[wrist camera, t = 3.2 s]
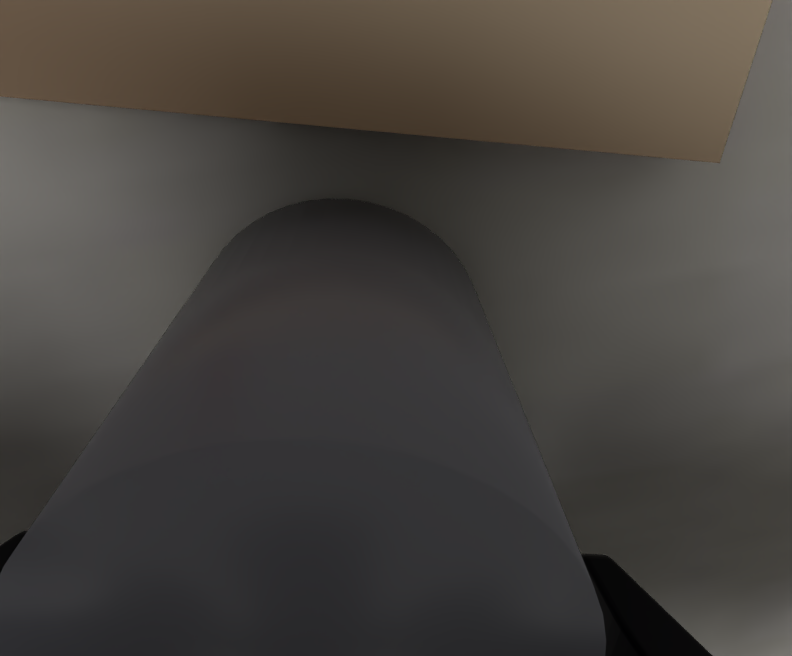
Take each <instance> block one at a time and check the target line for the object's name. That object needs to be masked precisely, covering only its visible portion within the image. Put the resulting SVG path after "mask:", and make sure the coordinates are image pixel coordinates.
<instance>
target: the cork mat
mask: <svg viewBox="0 0 792 656" xmlns="http://www.w3.org/2000/svg"><path fill="white" fill-rule="evenodd" d="M771 3H772V0H0V96H2V97H13V98H23V99H34V100H45V101H56V102H66V103H77V104H88V105H99V106H110V107H120V108H131V109H142V110H153V111H163V112H174V113H185V114H196V115H207V116H217V117H228V118H239V119H250V120H260V121H271V122H282V123H293V124H303V125H314V126H325V127H336V128H347V129H357V130H368V131H379V132H390V133H400V134H411V135H422V136H433V137H444V138H454V139H465V140H476V141H487V142H497V143H508V144H519V145H530V146H541V147H551V148H562V149H573V150H584V151H594V152H605V153H616V154H627V155H637V156H648V157H659V158H670V159H681V160H691V161H702V162H713V163H720V160H721V157H722V154H723V151H724V148H725V145H726V142H727V139H728V136H729V133H730V129H731V126H732V123H733V120H734V117H735V114H736V111H737V108H738V105H739V102H740V99H741V96H742V93H743V89H744V86H745V83H746V80H747V77H748V74H749V71H750V68H751V65H752V62H753V59H754V56H755V53H756V50H757V46H758V43H759V40H760V37H761V34H762V31H763V28H764V25H765V22H766V19H767V16H768V13H769V10H770V7H771Z"/></svg>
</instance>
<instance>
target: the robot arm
mask: <svg viewBox="0 0 792 656" xmlns="http://www.w3.org/2000/svg"><path fill="white" fill-rule="evenodd" d="M26 533H27V531H23V532H21V533H19V534H17V535H15V536H14V537H13V538H11V539H10V540H8V541H7V542H5V543H4V544H2V545H1V546H0V573H1V571H2V569H3V567H4V565H5V563H6V562H7V560H8V559H9V558H10V556H11V555H12V553H13V552H14V550H15V549H16V547H17V546H18V544H19V543H20V542H21V540H22V539H23V537H24V536H25V534H26ZM581 556H582V558H583V561H584V563H585V566H586V568H587V571H588V573H589V576H590V578H591V581H592V583H593V586H594V589H595V592H596V595H597V598H598V601H599V604H600V607H601V610H602V613H603V618H604V626H605V635H606V650H605V656H712V655H711V654H710V653H709V652H708V651H707V650H706V649H705V648H704V647H703V646H702V645H701V644H700V643H699V642H698V641H697V640H696V639H695V638H694V637H692V636H691V635H690V634H689V633H688V632H687V631H686V630H685V629H684V628H683V627H682V626H681V625H680V624H679V623H678V622H677V621H676V620H675V619H674V618H673V617H672V616H671V615H670V614H669V613H668V612H666V611H665V610H664V609H663V608H662V607H661V606H660V605H659V604H658V603H657V602H656V601H655V600H654V599H653V598H652V597H651V596H650V595H649V594H648V593H647V592H646V591H645V590H644V589H643V588H641V587H640V586H639V585H638V584H637V583H636V582H635V581H634V580H633V579H632V578H631V577H630V576H629V575H628V574H627V573H626V572H625V571H624V570H623V569H622V568H621V567H620V566H619V565H618V564H616V563H615V562H614V561H613V560H612V559H611V558H610V557H608V556H606V555H597V554H582V555H581Z"/></svg>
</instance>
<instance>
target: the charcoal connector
mask: <svg viewBox="0 0 792 656" xmlns="http://www.w3.org/2000/svg"><path fill="white" fill-rule="evenodd" d="M605 650H606V635H605V626H604V618H603V613H602V610H601V607H600V604H599V601H598V598H597V595H596V592H595V589H594V586H593V583H592V581H591V578H590V576H589V573H588V571H587V568H586V566H585V563H584V561H583V558H582V556H581V553H580V551H579V548H578V546H577V544H576V541H575V539H574V536H573V534H572V531H571V529H570V526H569V524H568V521H567V519H566V516H565V514H564V511H563V509H562V506H561V504H560V501H559V499H558V496H557V494H556V491H555V489H554V486H553V484H552V481H551V479H550V476H549V474H548V471H547V469H546V466H545V464H544V461H543V459H542V456H541V454H540V451H539V449H538V446H537V444H536V441H535V439H534V436H533V434H532V431H531V429H530V426H529V424H528V421H527V419H526V416H525V414H524V411H523V409H522V406H521V404H520V401H519V399H518V396H517V394H516V391H515V389H514V386H513V384H512V381H511V379H510V376H509V374H508V371H507V369H506V366H505V364H504V361H503V359H502V356H501V354H500V351H499V349H498V346H497V344H496V341H495V339H494V336H493V334H492V331H491V329H490V326H489V324H488V321H487V319H486V316H485V314H484V311H483V309H482V306H481V304H480V301H479V299H478V297H477V294H476V292H475V289H474V287H473V284H472V282H471V280H470V278H469V276H468V274H467V272H466V270H465V268H464V266H463V265H462V264H461V262H460V261H459V259H458V258H457V257H456V255H455V254H454V253H453V251H452V250H451V249H450V248H449V247H448V246H447V245H446V244H445V243H444V242H443V241H442V240H441V239H440V238H439V237H438V236H437V235H435V234H434V233H433V232H432V231H430V230H429V229H428V228H427V227H425V226H424V225H422V224H421V223H419V222H417V221H416V220H414V219H412V218H411V217H409V216H407V215H405V214H402V213H400V212H398V211H395V210H393V209H391V208H388V207H385V206H381V205H378V204H374V203H371V202H365V201H358V200H352V199H321V200H312V201H306V202H302V203H298V204H294V205H289V206H286V207H284V208H281V209H279V210H276V211H274V212H271V213H269V214H267V215H265V216H263V217H262V218H260V219H258V220H256V221H255V222H253V223H251V224H250V225H249V226H247V227H246V228H245V229H244V230H242V231H241V232H240V233H238V234H237V235H236V236H235V237H234V238H233V239H232V240H231V241H230V242H229V243H228V244H227V245H226V246H225V247H224V248H223V250H222V251H221V253H220V254H219V255H218V257H217V258H216V260H215V261H214V262H213V264H212V265H211V267H210V268H209V270H208V271H207V272H206V274H205V275H204V277H203V278H202V280H201V281H200V283H199V284H198V285H197V287H196V288H195V290H194V291H193V293H192V294H191V296H190V297H189V299H188V300H187V301H186V303H185V304H184V306H183V307H182V309H181V310H180V312H179V313H178V314H177V316H176V317H175V319H174V320H173V322H172V323H171V325H170V326H169V327H168V329H167V330H166V332H165V333H164V335H163V336H162V338H161V339H160V340H159V342H158V343H157V345H156V346H155V348H154V349H153V351H152V352H151V353H150V355H149V356H148V358H147V359H146V361H145V362H144V364H143V365H142V367H141V368H140V369H139V371H138V372H137V374H136V375H135V377H134V378H133V380H132V381H131V382H130V384H129V385H128V387H127V388H126V390H125V391H124V393H123V394H122V395H121V397H120V398H119V400H118V401H117V403H116V404H115V406H114V407H113V408H112V410H111V411H110V413H109V414H108V416H107V417H106V419H105V420H104V421H103V423H102V424H101V426H100V427H99V429H98V430H97V432H96V433H95V435H94V436H93V437H92V439H91V440H90V442H89V443H88V445H87V446H86V448H85V449H84V450H83V452H82V453H81V455H80V456H79V458H78V459H77V461H76V462H75V463H74V465H73V466H72V468H71V469H70V471H69V472H68V474H67V475H66V476H65V478H64V479H63V481H62V482H61V484H60V485H59V487H58V488H57V490H56V491H55V492H54V494H53V495H52V497H51V498H50V500H49V501H48V503H47V504H46V505H45V507H44V508H43V510H42V511H41V513H40V514H39V516H38V517H37V518H36V520H35V521H34V523H33V524H32V526H31V527H30V529H29V530H28V531H27V533H26V534H25V536H24V537H23V539H22V540H21V542H20V543H19V544H18V546H17V547H16V549H15V550H14V552H13V553H12V555H11V556H10V558H9V559H8V560H7V562H6V563H5V565H4V567H3V569H2V571H1V573H0V656H605Z"/></svg>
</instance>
